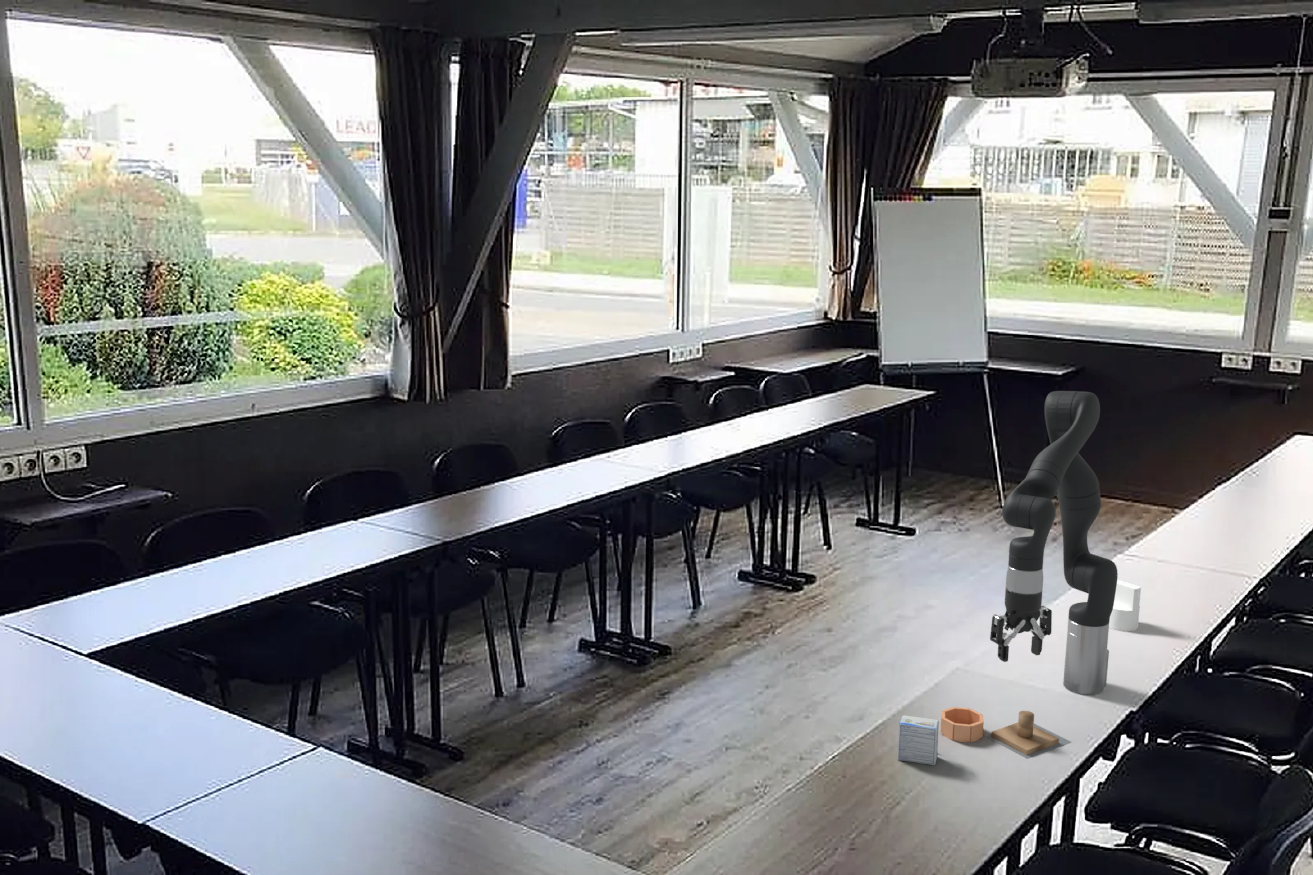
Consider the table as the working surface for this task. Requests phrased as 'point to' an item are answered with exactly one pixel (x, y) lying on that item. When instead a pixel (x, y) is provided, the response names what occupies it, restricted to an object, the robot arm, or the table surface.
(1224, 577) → the table surface
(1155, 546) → the table surface
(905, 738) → the medicine box
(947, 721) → the bowl
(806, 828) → the table surface
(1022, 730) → the lid
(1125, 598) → the cylinder with rectangular tab
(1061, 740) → the mat
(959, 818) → the table surface
